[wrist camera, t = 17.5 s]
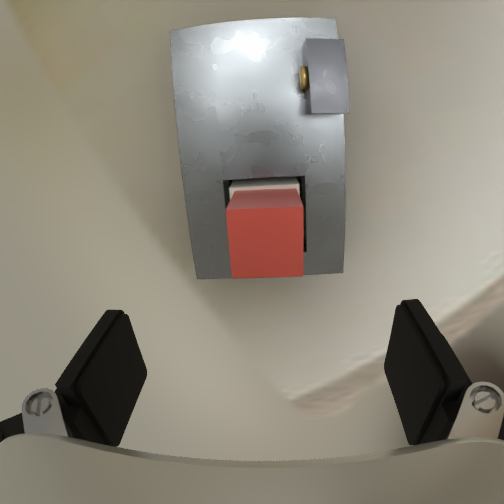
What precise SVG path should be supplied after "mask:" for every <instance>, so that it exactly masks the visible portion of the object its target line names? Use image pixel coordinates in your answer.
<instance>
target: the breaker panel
mask: <svg viewBox="0 0 504 504" xmlns="http://www.w3.org/2000/svg"><path fill="white" fill-rule="evenodd" d="M170 47H171V62H172V76H173V89H174V101H175V112H176V123H177V133H178V143H179V152H180V161H181V169H182V178H183V186H184V194H185V201H186V209H187V216H188V223H189V230H190V237H191V244H192V251H193V257H194V263H195V270H196V276H197V279H219V278H232V272H231V262H230V251H229V240H228V229H227V217H226V208H227V206H228V204H229V202H230V192H229V182H228V180H234V179H249V178H266V177H286V176H302V205H303V232H304V245H303V275H313V274H332V273H343V263H344V239H345V135H344V114H349V96H348V81H347V68H346V57H345V47H344V39H338V36H337V27H336V19H333V18H270V19H254V20H241V21H231V22H222V23H214V24H207V25H200V26H194V27H188V28H183V29H177V30H172V31H170Z"/></svg>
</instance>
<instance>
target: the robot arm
mask: <svg viewBox="0 0 504 504" xmlns="http://www.w3.org/2000/svg"><path fill="white" fill-rule="evenodd" d="M384 370H385V374H386V377H387V380H388V383H389V385H390V388H391V391H392V394H393V397H394V400H395V403H396V406H397V409H398V412H399V415H400V418H401V421H402V424H403V428H404V431H405V434H406V437H407V440H408V443H409V445H413V446H410V447H404V448H399V449H393V450H387V451H381V452H374V453H367V454H360V455H353V456H344V457H336V458H335V457H334V458H324V459H310V460H293V461H231V460H229V461H228V460H211V459H199V458H188V457H177V456H169V455H161V454H154V453H147V452H141V451H135V450H129V449H124V448H119V447H117V446H118V445H119V444H120V442H121V439H122V437H123V434H124V431H125V429H126V426H127V424H128V421H129V419H130V416H131V414H132V411H133V409H134V406H135V404H136V401H137V399H138V396H139V394H140V392H141V389H142V387H143V384H144V382H145V380H146V377H147V369H146V366H145V363H144V360H143V358H142V355H141V352H140V349H139V346H138V344H137V340H136V337H135V334H134V331H133V328H132V325H131V322H130V319H129V316H128V315H127V314H124V312H123V311H122V310H107V311H106V312H105V313H104V314H103V316H102V317H101V319H100V320H99V321H98V323H97V324H96V325H95V327H94V328H93V330H92V331H91V333H90V334H89V335H88V337H87V338H86V339H85V341H84V342H83V344H82V345H81V347H80V348H79V350H78V351H77V353H76V354H75V356H74V357H73V359H72V360H71V361H70V363H69V364H68V366H67V367H66V369H65V370H64V372H63V373H62V375H61V377H60V378H59V379H58V381H57V383H56V384H55V385H56V387H57V389H56V390H55V392H54V391H53V390H51V389H48V388H47V389H46V388H42V389H37V390H35V391H33V392H31V393H30V394H29V395H28V396H27V397H26V398H25V399H24V401H23V403H22V413H20V414H18V415H16V416H13V417H11V418H8V419H6V420H3V421H1V422H0V504H504V394H503V392H502V391H501V389H499V388H498V387H497V386H496V385H494V384H491V383H488V382H477V383H474V384H472V382H471V381H470V379H469V377H468V376H467V374H466V372H465V370H464V368H463V367H462V365H461V364H460V362H459V360H458V358H457V357H456V355H455V353H454V352H453V350H452V348H451V347H450V345H449V344H448V342H447V340H446V339H445V337H444V336H443V335H442V334H441V333H440V331H439V330H438V328H437V326H436V325H435V323H434V322H433V320H432V319H431V317H430V316H429V314H428V313H427V311H426V310H425V308H424V307H423V305H422V304H421V302H420V301H419V300H418V299H412V300H403V301H402V302H401V304H400V305H397V307H396V310H395V315H394V321H393V326H392V331H391V336H390V340H389V345H388V350H387V354H386V358H385V363H384Z"/></svg>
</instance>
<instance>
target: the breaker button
mask: <svg viewBox="0 0 504 504" xmlns="http://www.w3.org/2000/svg"><path fill="white" fill-rule="evenodd" d="M291 188H297V191H298V194H299V196H300V192H299V183H298V180H297V178H296V177H281V178H262V179H245V180H233V182H232V184H231V186H230V187H229V192H230V200H231V198H232V196H233V194H234V192H235V191H240V190H262V189H291Z"/></svg>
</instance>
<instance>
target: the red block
mask: <svg viewBox="0 0 504 504" xmlns="http://www.w3.org/2000/svg"><path fill="white" fill-rule="evenodd" d="M226 217H227V229H228V240H229V251H230V262H231V272H232V278H264V277H295V276H303V245H304V232H303V205H302V202H301V199H300V196H299V194H298V191H297V188H291V189H262V190H240V191H235V192H234V194H233V196H232V198H231V200H230V202H229V204H228V206H227V208H226Z"/></svg>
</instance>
